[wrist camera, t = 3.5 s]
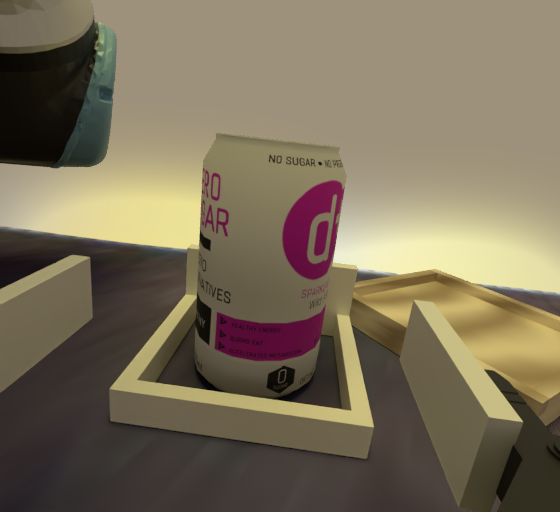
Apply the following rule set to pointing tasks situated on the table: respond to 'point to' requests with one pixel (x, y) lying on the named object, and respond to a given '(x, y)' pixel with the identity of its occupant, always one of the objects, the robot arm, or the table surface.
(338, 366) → the dock
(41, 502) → the table surface
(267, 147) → the supplement can
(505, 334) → the tray
